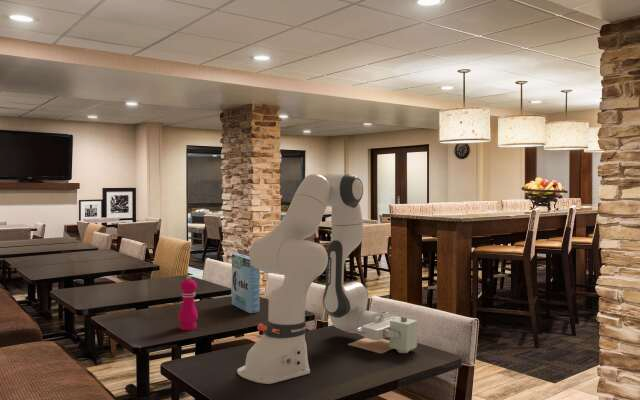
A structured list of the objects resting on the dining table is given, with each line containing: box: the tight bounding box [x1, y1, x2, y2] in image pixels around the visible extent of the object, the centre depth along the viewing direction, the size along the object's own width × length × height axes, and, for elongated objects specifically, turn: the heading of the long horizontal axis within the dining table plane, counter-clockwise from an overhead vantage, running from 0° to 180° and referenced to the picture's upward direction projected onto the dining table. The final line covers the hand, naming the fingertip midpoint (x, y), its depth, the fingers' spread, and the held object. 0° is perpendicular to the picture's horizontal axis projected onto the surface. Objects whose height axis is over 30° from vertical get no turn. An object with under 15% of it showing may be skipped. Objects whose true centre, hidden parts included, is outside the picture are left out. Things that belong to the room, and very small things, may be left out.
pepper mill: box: [177, 274, 199, 331], centre depth 204 cm, size 7×7×20 cm
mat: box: [347, 337, 394, 354], centre depth 189 cm, size 14×14×1 cm
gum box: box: [231, 252, 261, 314], centre depth 237 cm, size 20×5×23 cm, turn 32°
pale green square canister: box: [389, 315, 418, 352], centre depth 182 cm, size 7×7×10 cm
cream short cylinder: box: [396, 349, 410, 354], centre depth 182 cm, size 4×4×3 cm
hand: (405, 332), depth 181 cm, fingers closed on pale green square canister, 7 cm apart
